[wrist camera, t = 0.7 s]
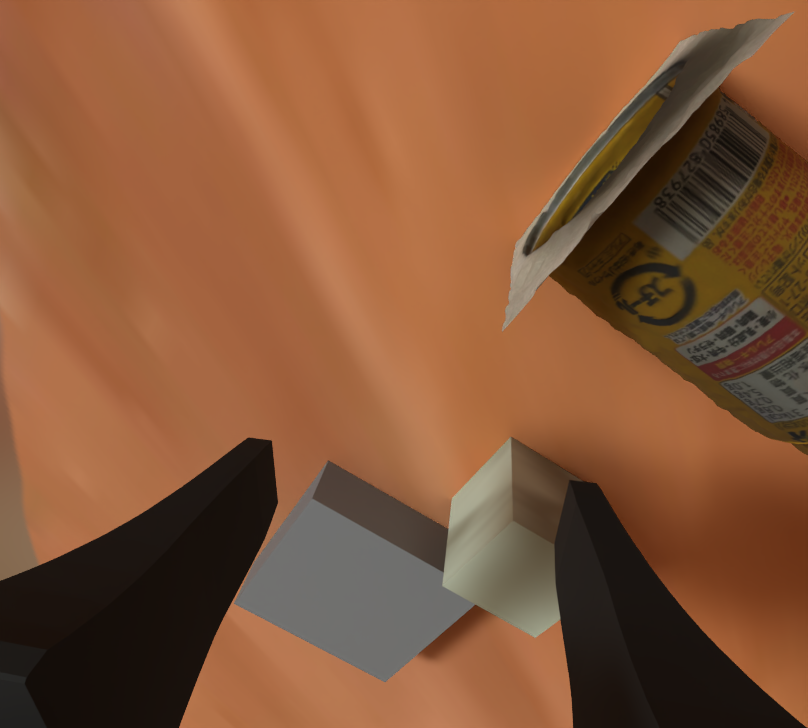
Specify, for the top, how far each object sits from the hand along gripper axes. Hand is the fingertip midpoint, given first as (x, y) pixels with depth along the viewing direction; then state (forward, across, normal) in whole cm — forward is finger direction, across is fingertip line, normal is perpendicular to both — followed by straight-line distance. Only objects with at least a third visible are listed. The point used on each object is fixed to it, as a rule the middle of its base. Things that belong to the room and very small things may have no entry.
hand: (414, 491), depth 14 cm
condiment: (+5, -3, -7) cm, 10 cm away
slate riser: (+10, +3, +14) cm, 17 cm away
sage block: (+10, -4, +8) cm, 13 cm away
